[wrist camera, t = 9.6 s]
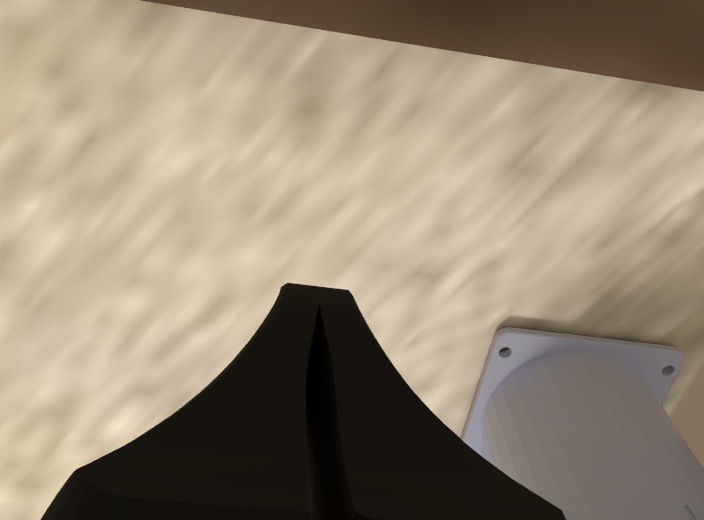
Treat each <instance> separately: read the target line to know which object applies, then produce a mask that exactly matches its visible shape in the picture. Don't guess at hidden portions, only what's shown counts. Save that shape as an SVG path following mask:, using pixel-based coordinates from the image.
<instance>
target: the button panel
mask: <svg viewBox="0 0 704 520" xmlns="http://www.w3.org/2000/svg"><path fill="white" fill-rule="evenodd" d="M142 1H148V2H154V3H160V4H166V5H172V6H179V7H185V8H191V9H197V10H203V11H210V12H216V13H222V14H228V15H234V16H240V17H247V18H253V19H259V20H265V21H271V22H278V23H284V24H290V25H296V26H302V27H308V28H315V29H321V30H327V31H333V32H339V33H346V34H352V35H358V36H364V37H370V38H376V39H383V40H389V41H395V42H401V43H407V44H414V45H420V46H426V47H432V48H438V49H444V50H451V51H457V52H463V53H469V54H475V55H482V56H488V57H494V58H500V59H506V60H512V61H519V62H525V63H531V64H537V65H543V66H550V67H556V68H562V69H568V70H574V71H580V72H587V73H593V74H599V75H605V76H611V77H618V78H624V79H630V80H636V81H642V82H648V83H655V84H661V85H667V86H673V87H679V88H686V89H692V90H698V91H704V0H142Z"/></svg>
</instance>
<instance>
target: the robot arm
mask: <svg viewBox="0 0 704 520" xmlns="http://www.w3.org/2000/svg"><path fill="white" fill-rule="evenodd" d="M504 347H508V350H506V351H504V352H500V349H502V348H504ZM684 359H685V357H684V354H683V353H682V352H681V350H680V349H679V348H678V347H674V346H667V345H658V344H650V343H641V342H632V341H624V340H615V339H607V338H598V337H589V336H581V335H572V334H564V333H555V332H546V331H538V330H529V329H521V328H512V327H505V328H502V329H500V330H499V331H498V332H497V333H496V334H495V336H494V339H493V342H492V345H491V348H490V352H489V355H488V358H487V361H486V364H485V367H484V370H483V373H482V376H481V379H480V382H479V385H478V388H477V391H476V394H475V397H474V400H473V403H472V407H471V410H470V413H469V416H468V419H467V422H466V425H465V428H464V431H463V434H462V437H461V439H460V438H459V437H458V436H457V435H456V434H455V433H454V432H453V431H452V430H450V429H449V428H448V427H447V426H446V425H445V424H444V423H443V422H442V421H441V420H440V419H439V418H438V417H437V416H436V415H435V414H434V413H433V412H432V411H431V410H430V409H429V408H428V407H427V406H426V405H425V404H424V403H423V402H422V401H421V399H420V398H419V397H418V396H417V395H416V394H415V393H414V392H413V390H412V389H411V388H410V387H409V386H408V384H407V383H406V382H405V380H404V379H403V378H402V376H401V375H400V374H399V372H398V371H397V370H396V368H395V367H394V366H393V364H392V363H391V361H390V360H389V358H388V357H387V355H386V354H385V352H384V351H383V349H382V348H381V346H380V344H379V343H378V341H377V340H376V338H375V337H374V335H373V333H372V332H371V330H370V328H369V326H368V325H367V323H366V321H365V319H364V317H363V315H362V314H361V312H360V310H359V308H358V306H357V304H356V302H355V299H354V297H353V295H352V294H351V293H350V291H349V290H343V289H335V288H326V287H318V286H310V285H301V284H293V283H287V284H285V285H284V286H282V287H281V290H280V293H279V295H278V298H277V300H276V302H275V304H274V305H273V307H272V309H271V310H270V312H269V314H268V315H267V317H266V318H265V320H264V321H263V323H262V324H261V326H260V327H259V328H258V330H257V331H256V333H255V334H254V335H253V337H252V338H251V339H250V341H249V342H248V343H247V344H246V345H245V347H244V348H243V349H242V350H241V351H240V352H239V354H238V355H237V356H236V357H235V358H234V360H233V361H232V362H231V363H230V364H229V365H228V366H227V367H226V368H225V369H224V370H223V371H222V372H221V373H220V374H219V375H218V376H217V377H216V378H215V379H214V380H213V381H212V382H211V383H210V384H209V385H208V386H207V387H206V388H204V389H203V390H202V391H201V392H200V393H199V394H197V395H196V396H195V397H194V398H193V399H191V400H190V401H189V402H188V403H186V404H185V405H184V406H183V407H182V408H180V409H179V410H178V411H176V412H175V413H174V414H172V415H171V416H170V417H168V418H167V419H165V420H164V421H162V422H161V423H159V424H158V425H156V426H155V427H153V428H152V429H150V430H148V431H147V432H145V433H144V434H142V435H141V436H139V437H138V438H136V439H135V440H133V441H131V442H130V443H128V444H126V445H125V446H123V447H121V448H119V449H117V450H115V451H113V452H111V453H109V454H107V455H105V456H103V457H101V458H99V459H97V460H95V461H93V462H91V463H89V464H87V465H85V466H83V467H80V468H78V469H76V470H75V471H74V472H73V473H72V475H71V476H70V477H69V479H68V480H67V481H66V483H65V484H64V485H63V487H62V488H61V490H60V491H59V492H58V494H57V495H56V497H55V498H54V500H53V501H52V503H51V504H50V506H49V507H48V509H47V510H46V512H45V514H44V515H43V517H42V518H41V520H704V469H703V467H702V466H701V464H700V463H699V461H698V460H697V458H696V457H695V455H694V454H693V452H692V451H691V449H690V448H689V446H688V445H687V443H686V442H685V440H684V439H683V437H682V436H681V434H680V433H679V431H678V430H677V428H676V427H675V425H674V424H673V422H672V421H671V419H670V418H669V416H668V415H667V413H666V412H665V410H664V409H663V407H662V406H661V405H662V403H663V401H664V399H665V397H666V395H667V393H668V391H669V389H670V387H671V385H672V383H673V381H674V380H675V378H676V376H677V374H678V372H679V370H680V368H681V366H682V364H683V362H684ZM666 366H669V367H668V368H666V369H663V368H664V367H666ZM662 369H663V370H662Z"/></svg>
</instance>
